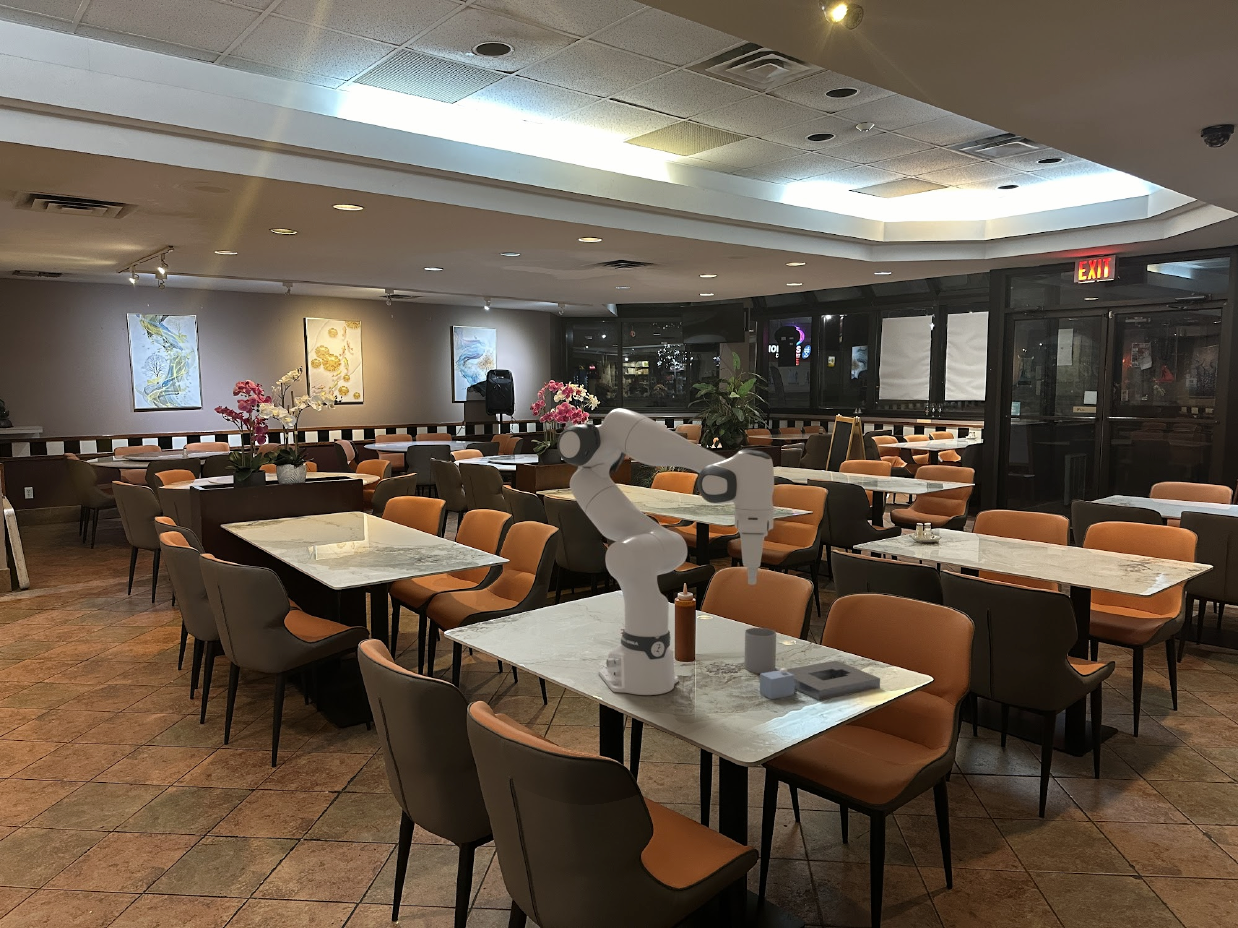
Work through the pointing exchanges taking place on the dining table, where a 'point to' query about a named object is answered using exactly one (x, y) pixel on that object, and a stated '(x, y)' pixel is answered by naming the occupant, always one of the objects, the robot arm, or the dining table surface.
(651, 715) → the dining table surface
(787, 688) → the block
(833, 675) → the frame
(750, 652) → the cup
